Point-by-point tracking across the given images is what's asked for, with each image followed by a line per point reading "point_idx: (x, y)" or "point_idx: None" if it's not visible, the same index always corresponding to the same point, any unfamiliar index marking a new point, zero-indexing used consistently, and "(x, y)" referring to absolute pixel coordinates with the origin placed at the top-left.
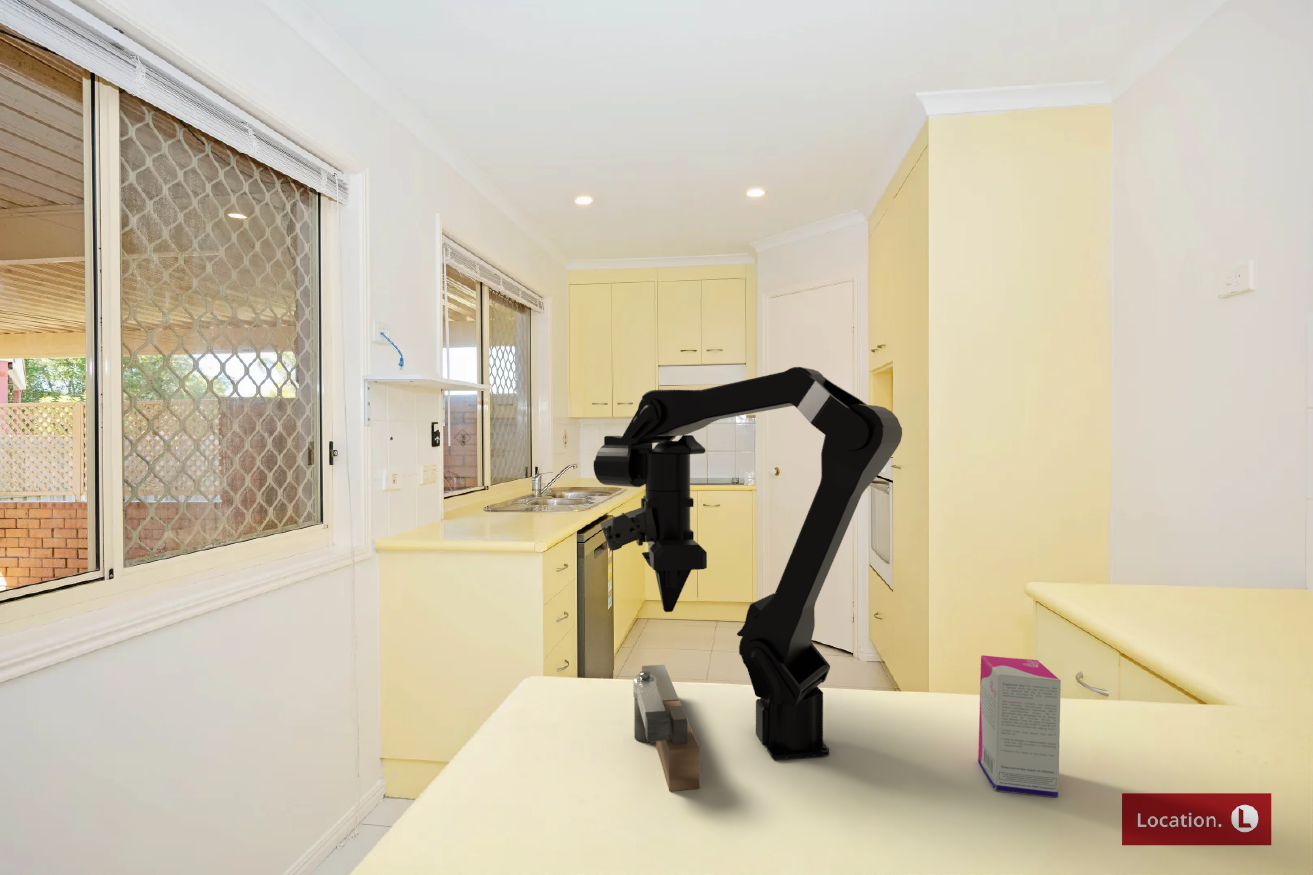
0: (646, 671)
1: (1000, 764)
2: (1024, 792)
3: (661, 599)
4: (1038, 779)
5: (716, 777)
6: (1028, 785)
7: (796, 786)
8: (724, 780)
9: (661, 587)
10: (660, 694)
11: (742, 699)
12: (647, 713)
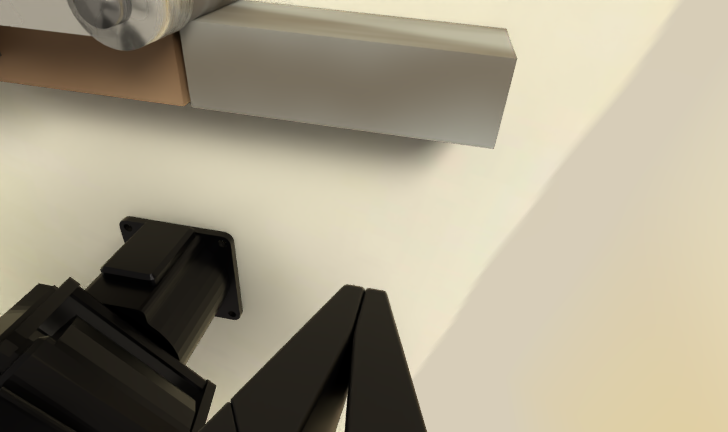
0: (113, 15)
1: None
2: None
3: (368, 333)
4: None
5: (53, 93)
6: None
7: (52, 211)
8: (45, 105)
9: (220, 413)
10: (228, 59)
11: (392, 273)
12: None
